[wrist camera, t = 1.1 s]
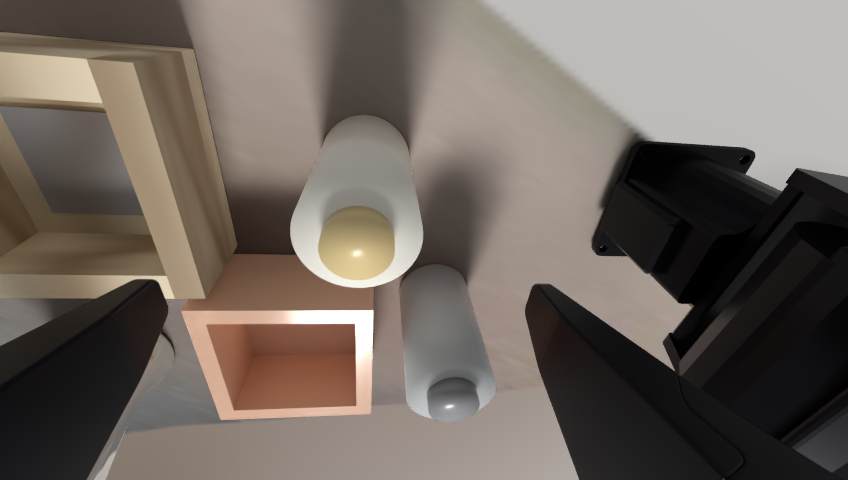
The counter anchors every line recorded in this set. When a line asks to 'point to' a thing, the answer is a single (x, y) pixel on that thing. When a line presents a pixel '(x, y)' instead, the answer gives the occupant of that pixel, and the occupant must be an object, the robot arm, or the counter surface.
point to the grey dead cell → (443, 346)
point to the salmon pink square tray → (283, 340)
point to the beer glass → (135, 403)
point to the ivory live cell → (359, 206)
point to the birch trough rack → (107, 170)
